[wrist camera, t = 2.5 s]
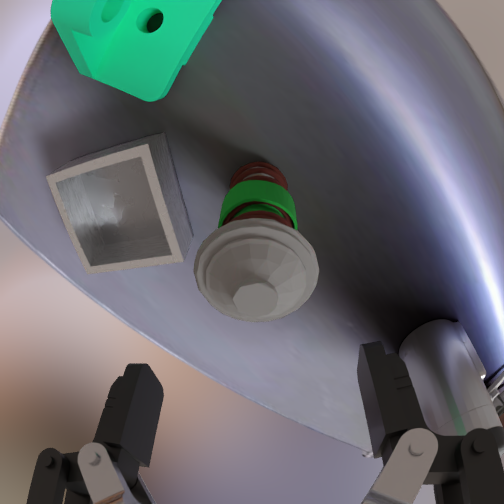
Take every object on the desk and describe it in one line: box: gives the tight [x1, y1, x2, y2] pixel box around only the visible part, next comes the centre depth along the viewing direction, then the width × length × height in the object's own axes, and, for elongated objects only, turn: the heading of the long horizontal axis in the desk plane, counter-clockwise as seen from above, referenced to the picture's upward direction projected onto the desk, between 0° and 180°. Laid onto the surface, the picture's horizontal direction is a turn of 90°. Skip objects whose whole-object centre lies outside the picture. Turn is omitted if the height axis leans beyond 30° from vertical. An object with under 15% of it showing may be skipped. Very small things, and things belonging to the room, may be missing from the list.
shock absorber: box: [194, 162, 319, 322], centre depth 21 cm, size 6×6×15 cm
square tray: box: [46, 132, 194, 274], centre depth 26 cm, size 10×10×4 cm
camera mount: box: [51, 0, 222, 102], centre depth 15 cm, size 12×8×10 cm, turn 150°
